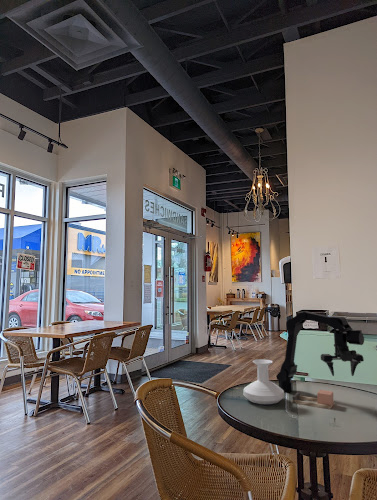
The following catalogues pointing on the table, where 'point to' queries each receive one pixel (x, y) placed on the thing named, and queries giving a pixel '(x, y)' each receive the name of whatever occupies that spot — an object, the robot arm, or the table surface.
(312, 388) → the table surface
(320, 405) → the chute
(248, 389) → the white vase
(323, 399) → the block
